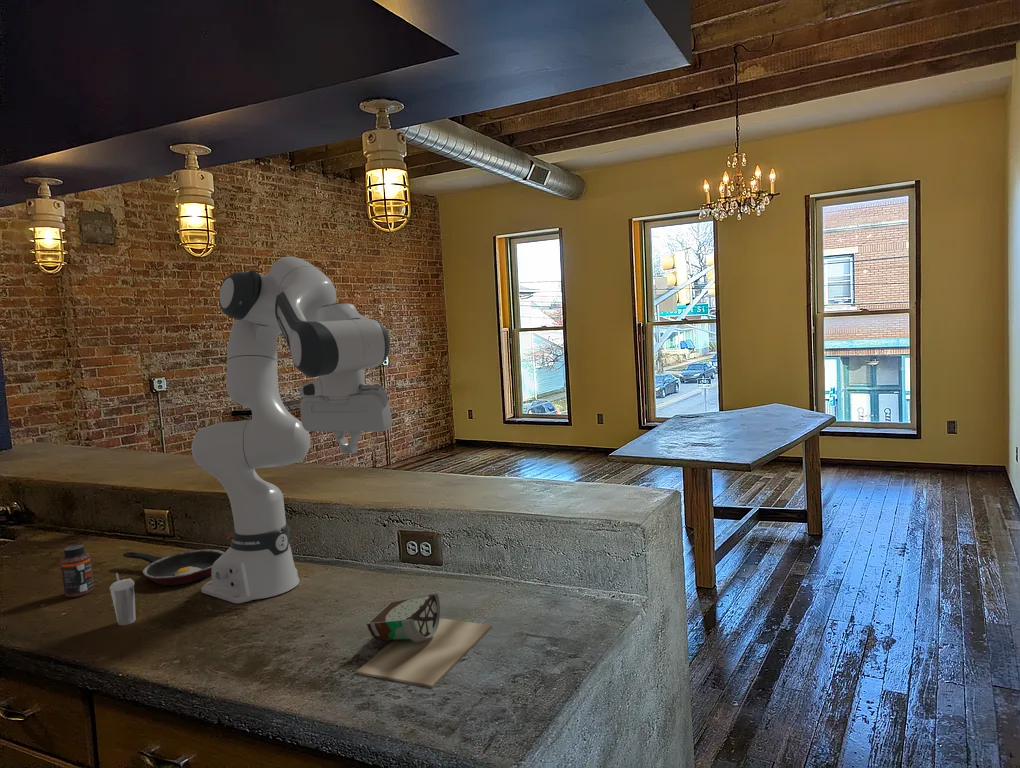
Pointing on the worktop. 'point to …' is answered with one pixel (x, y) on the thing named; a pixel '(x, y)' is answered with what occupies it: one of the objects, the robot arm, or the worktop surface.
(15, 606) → the worktop surface
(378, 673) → the oak board
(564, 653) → the worktop surface
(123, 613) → the milkshake
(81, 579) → the supplement bottle
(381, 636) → the food container
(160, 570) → the frying pan
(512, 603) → the worktop surface
